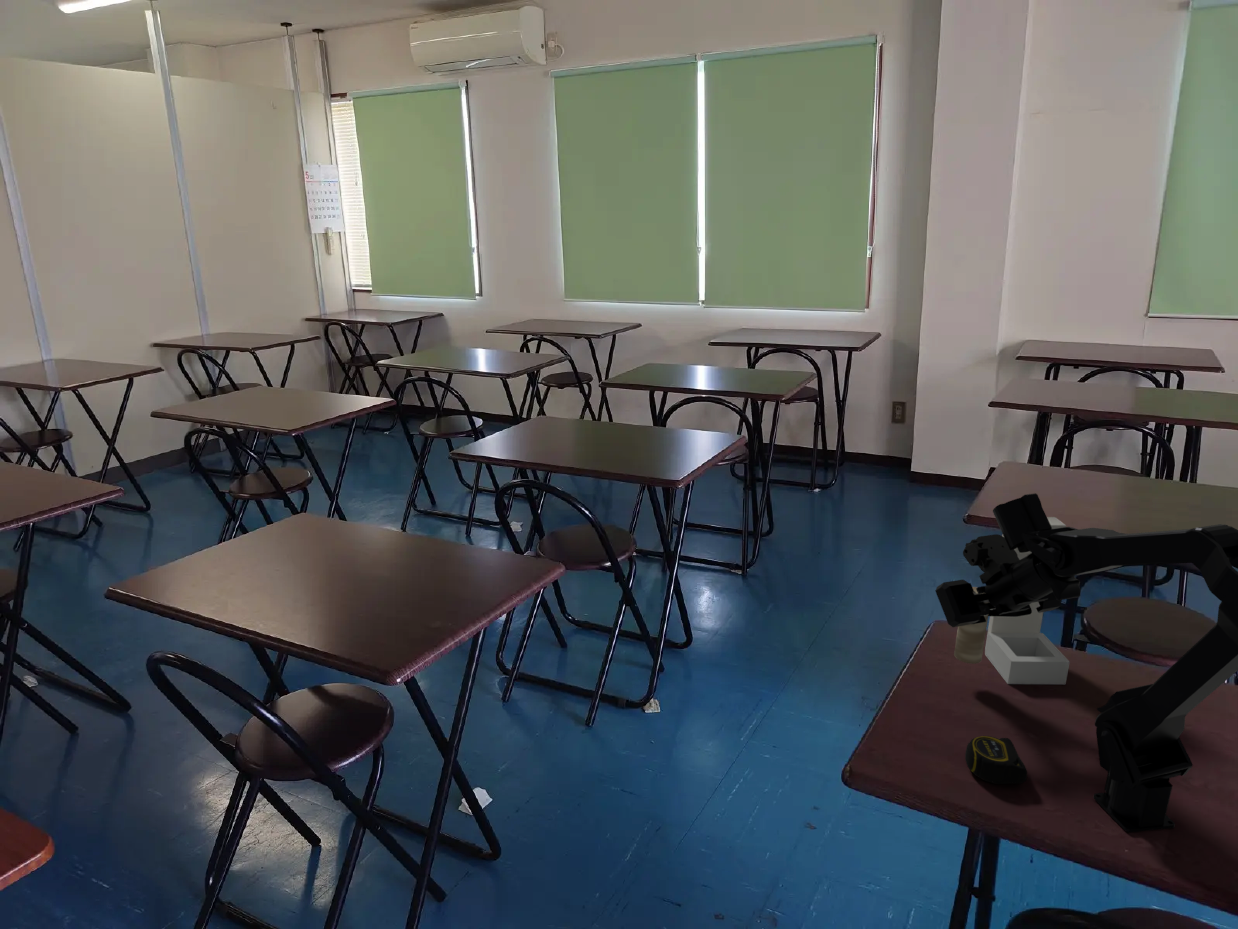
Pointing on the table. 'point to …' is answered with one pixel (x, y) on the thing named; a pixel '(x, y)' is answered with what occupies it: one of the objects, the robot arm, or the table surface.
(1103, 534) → the robot arm
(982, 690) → the table surface
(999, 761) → the tape measure
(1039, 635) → the white holder stand
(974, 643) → the peg
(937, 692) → the table surface
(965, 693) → the table surface
